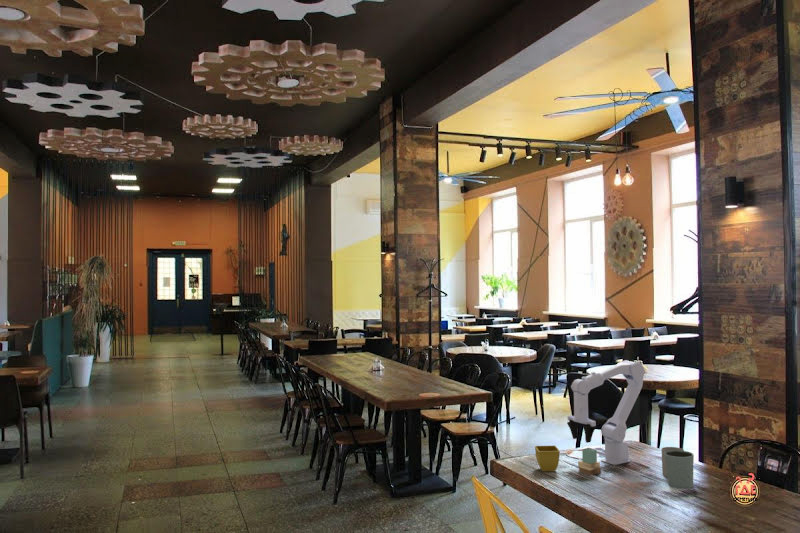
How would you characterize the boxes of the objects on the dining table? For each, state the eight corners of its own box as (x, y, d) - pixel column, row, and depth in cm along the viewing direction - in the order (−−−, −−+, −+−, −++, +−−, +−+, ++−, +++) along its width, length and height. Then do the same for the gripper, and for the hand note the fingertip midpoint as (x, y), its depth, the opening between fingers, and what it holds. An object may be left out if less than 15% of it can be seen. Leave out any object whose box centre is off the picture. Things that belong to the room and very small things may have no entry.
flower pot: (560, 472, 269) (560, 450, 269) (539, 473, 269) (538, 451, 269) (556, 466, 278) (555, 445, 278) (535, 467, 278) (534, 445, 278)
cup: (681, 471, 266) (680, 446, 266) (688, 478, 258) (687, 452, 258) (659, 471, 267) (658, 446, 267) (665, 477, 258) (664, 452, 259)
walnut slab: (589, 470, 273) (589, 464, 273) (600, 473, 268) (600, 467, 268) (579, 472, 270) (578, 466, 270) (590, 476, 265) (589, 470, 265)
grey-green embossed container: (697, 490, 243) (696, 457, 243) (668, 489, 245) (667, 456, 245) (691, 481, 253) (690, 450, 253) (663, 480, 255) (662, 449, 255)
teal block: (588, 459, 272) (588, 447, 272) (596, 461, 268) (596, 449, 268) (582, 461, 269) (582, 449, 269) (590, 463, 266) (590, 451, 266)
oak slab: (588, 464, 273) (588, 458, 273) (599, 467, 268) (599, 462, 268) (578, 467, 270) (578, 461, 270) (589, 470, 265) (589, 464, 265)
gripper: (561, 406, 284) (562, 438, 284) (586, 411, 271) (587, 445, 271) (574, 404, 287) (574, 436, 287) (599, 410, 275) (599, 442, 274)
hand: (581, 440), depth 279 cm, fingers open, 7 cm apart
